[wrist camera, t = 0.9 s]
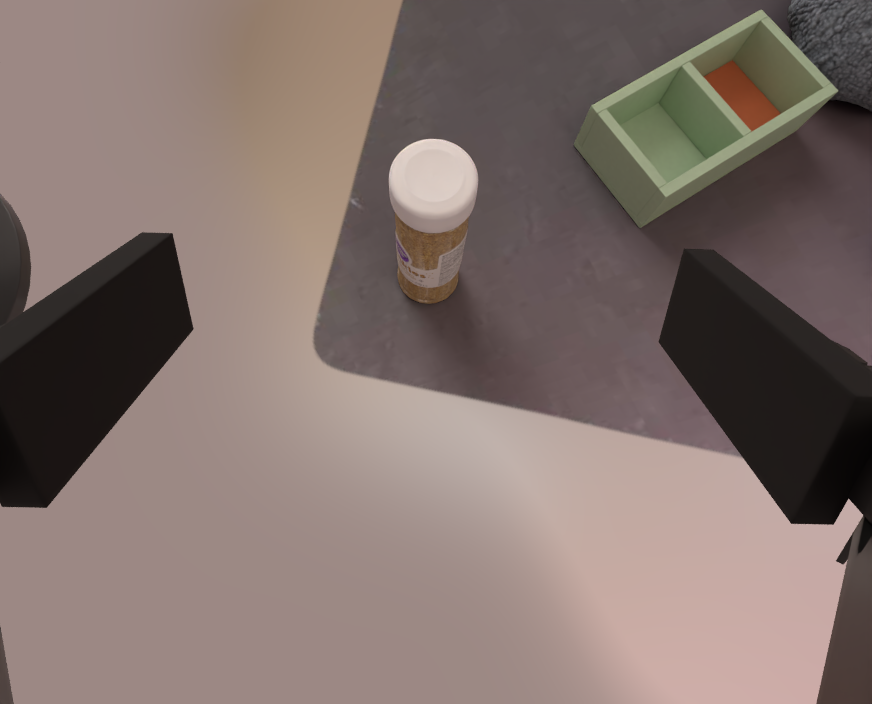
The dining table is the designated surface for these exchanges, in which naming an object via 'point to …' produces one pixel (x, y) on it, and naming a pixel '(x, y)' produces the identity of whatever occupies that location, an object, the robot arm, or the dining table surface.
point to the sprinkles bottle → (431, 216)
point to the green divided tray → (701, 116)
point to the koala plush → (837, 44)
